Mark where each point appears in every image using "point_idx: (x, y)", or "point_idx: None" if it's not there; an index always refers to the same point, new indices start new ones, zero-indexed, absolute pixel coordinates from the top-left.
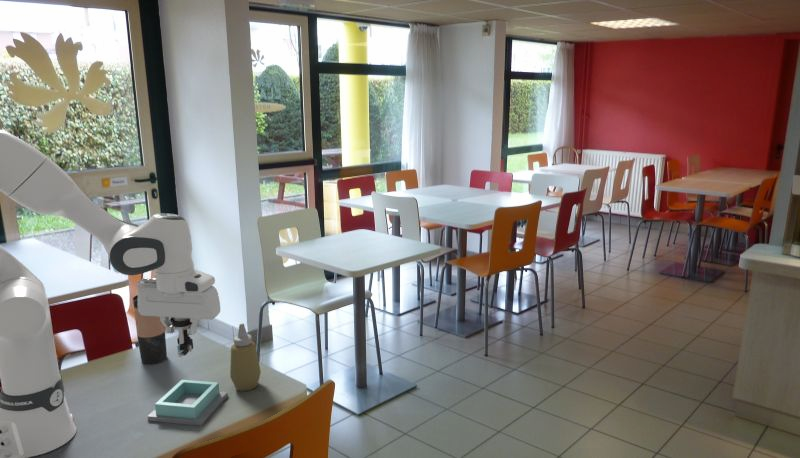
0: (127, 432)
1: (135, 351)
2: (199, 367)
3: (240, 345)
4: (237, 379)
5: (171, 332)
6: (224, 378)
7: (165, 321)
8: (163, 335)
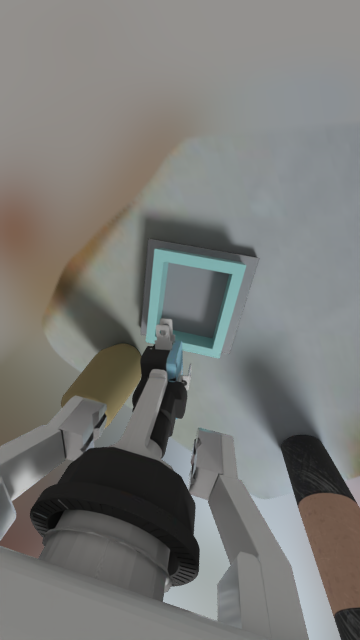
0: (288, 212)
1: (341, 473)
2: (218, 415)
3: None
4: (119, 351)
5: (198, 431)
6: None
7: (241, 537)
8: (297, 494)
